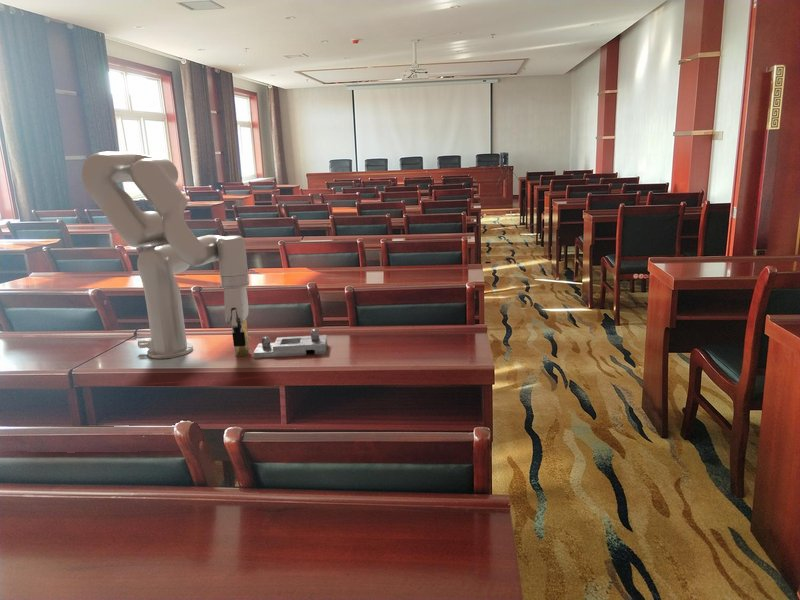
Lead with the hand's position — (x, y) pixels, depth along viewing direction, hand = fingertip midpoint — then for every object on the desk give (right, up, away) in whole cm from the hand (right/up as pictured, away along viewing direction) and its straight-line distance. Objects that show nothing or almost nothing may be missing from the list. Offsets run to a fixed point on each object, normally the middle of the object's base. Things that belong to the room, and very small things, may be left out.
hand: (241, 342), depth 172 cm
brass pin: (0, -3, +1) cm, 3 cm away
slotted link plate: (+11, -3, +1) cm, 12 cm away
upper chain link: (+17, -2, +2) cm, 17 cm away
